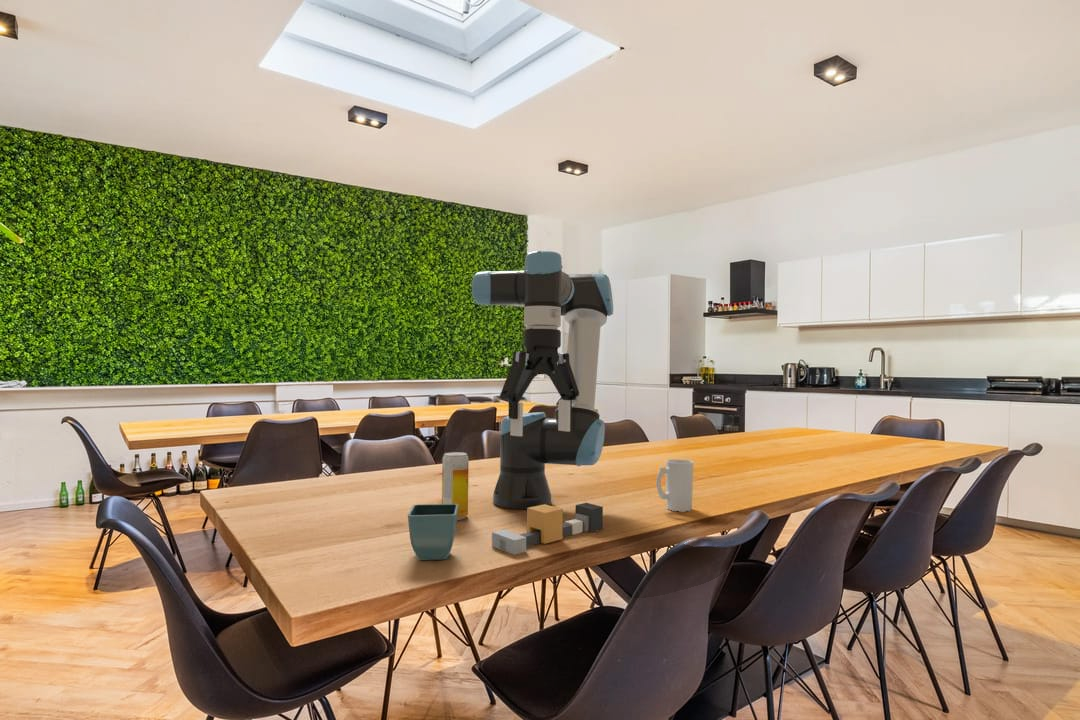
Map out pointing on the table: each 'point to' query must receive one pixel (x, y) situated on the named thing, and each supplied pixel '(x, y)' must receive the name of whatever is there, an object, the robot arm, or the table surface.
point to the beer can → (455, 481)
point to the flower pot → (432, 530)
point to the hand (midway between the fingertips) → (541, 433)
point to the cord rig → (585, 520)
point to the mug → (677, 484)
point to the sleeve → (545, 522)
